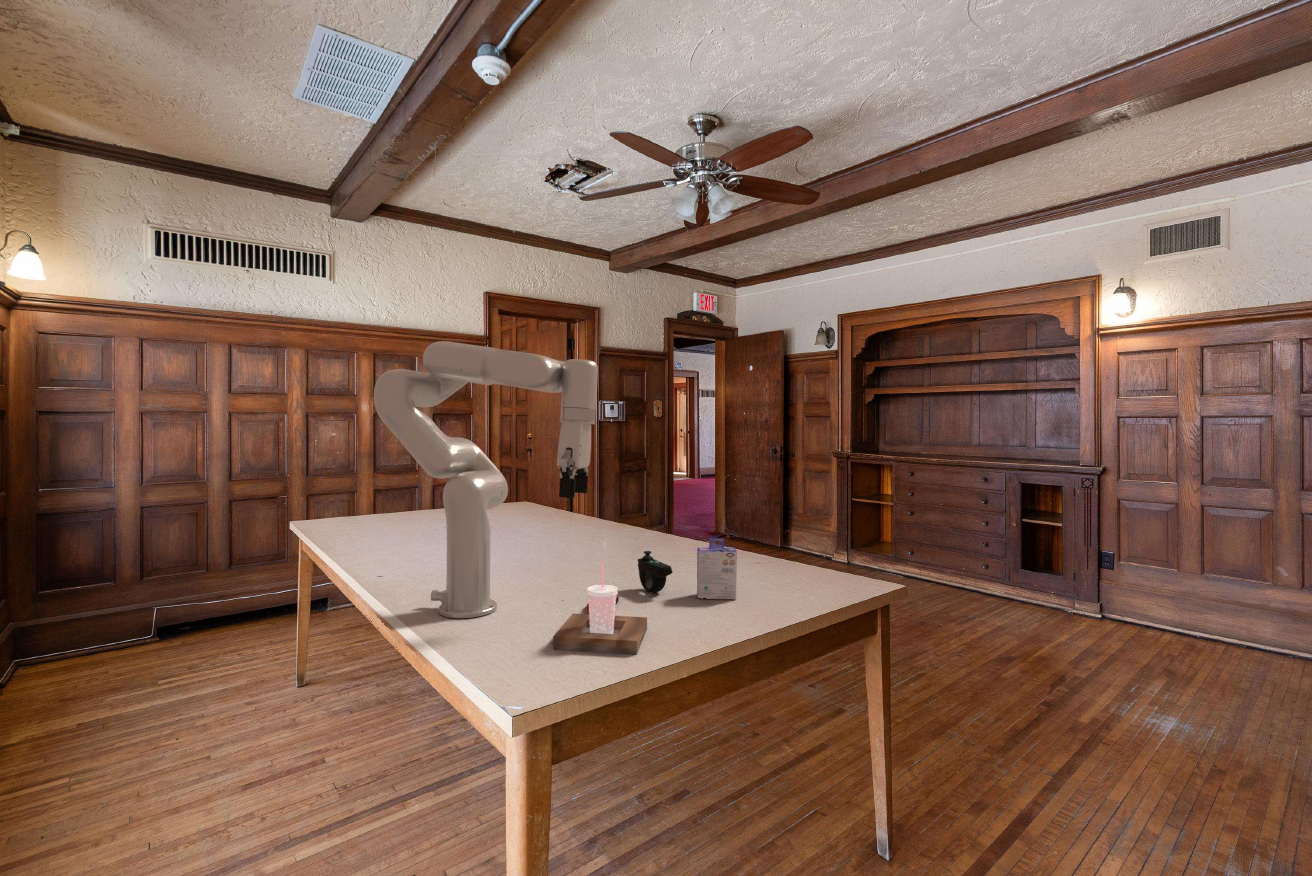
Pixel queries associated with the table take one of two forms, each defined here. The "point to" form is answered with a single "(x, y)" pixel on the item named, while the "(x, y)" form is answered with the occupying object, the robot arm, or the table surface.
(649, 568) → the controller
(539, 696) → the table surface
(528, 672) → the table surface
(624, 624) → the brown wooden square frame
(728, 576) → the ink cartridge box
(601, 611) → the beverage cup
